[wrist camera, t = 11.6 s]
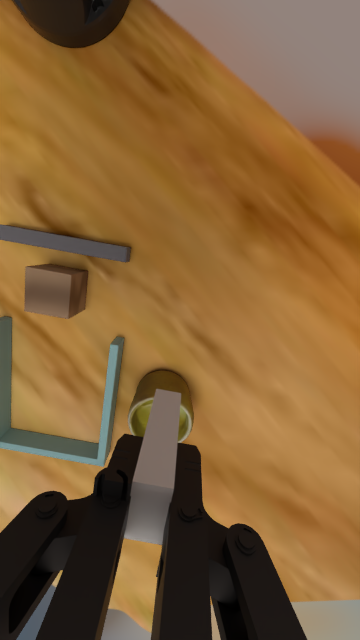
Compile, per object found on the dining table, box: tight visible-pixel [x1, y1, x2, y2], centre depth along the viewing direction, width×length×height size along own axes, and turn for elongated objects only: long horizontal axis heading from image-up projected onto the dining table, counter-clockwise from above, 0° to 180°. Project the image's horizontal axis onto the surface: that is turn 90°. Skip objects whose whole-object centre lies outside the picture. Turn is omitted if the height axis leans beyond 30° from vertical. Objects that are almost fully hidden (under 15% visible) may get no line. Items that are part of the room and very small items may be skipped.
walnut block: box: [24, 264, 88, 319], centre depth 39 cm, size 6×6×6 cm
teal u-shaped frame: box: [0, 316, 124, 467], centre depth 44 cm, size 22×19×4 cm
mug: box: [128, 370, 194, 443], centre depth 42 cm, size 12×10×10 cm
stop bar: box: [0, 225, 131, 262], centre depth 39 cm, size 2×18×2 cm, turn 80°
